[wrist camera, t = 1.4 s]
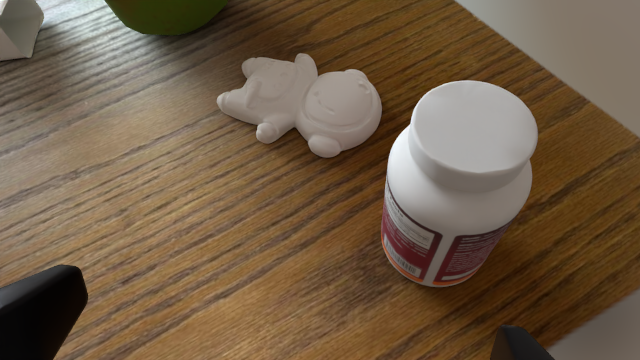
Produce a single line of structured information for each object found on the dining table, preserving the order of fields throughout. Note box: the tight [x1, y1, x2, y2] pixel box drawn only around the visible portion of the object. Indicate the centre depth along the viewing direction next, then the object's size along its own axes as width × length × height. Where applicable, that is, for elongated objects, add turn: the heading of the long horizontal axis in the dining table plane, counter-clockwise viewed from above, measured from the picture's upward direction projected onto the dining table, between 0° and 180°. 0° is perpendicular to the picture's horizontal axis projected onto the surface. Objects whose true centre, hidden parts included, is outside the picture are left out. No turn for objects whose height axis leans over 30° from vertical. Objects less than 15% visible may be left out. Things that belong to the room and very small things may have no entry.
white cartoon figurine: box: [217, 53, 382, 158], centre depth 30 cm, size 9×12×3 cm
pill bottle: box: [381, 81, 538, 287], centre depth 20 cm, size 6×6×11 cm
